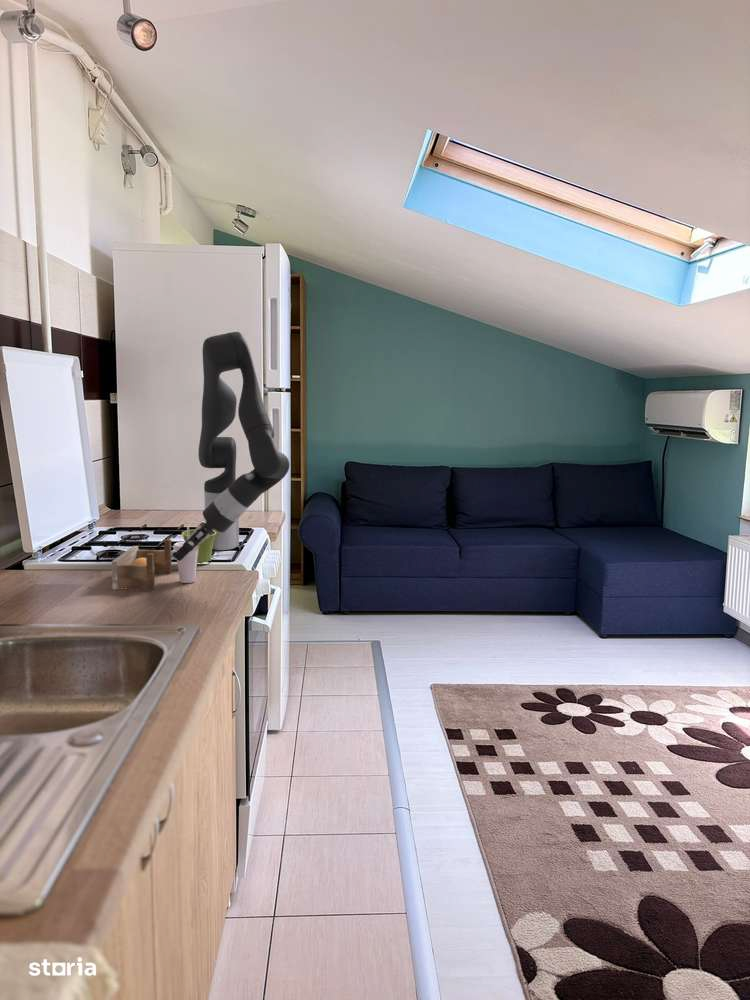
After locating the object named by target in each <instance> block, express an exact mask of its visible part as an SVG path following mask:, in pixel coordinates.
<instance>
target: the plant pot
mask: <svg viewBox="0 0 750 1000" xmlns="http://www.w3.org/2000/svg"><path fill="white" fill-rule="evenodd" d="M195 530H196V528H195V529H189V533H190V535H191V534H192V533H193V532H194V531H195ZM181 535H182V537H183V540H184V541H187V530H184V531H181ZM215 535H216V531H214V533H213V534H212V535H211V536H210V537H209V538H208V539H206V540H204V541H203V542H202V543H201V544H200V545H199V548H198V556H197V563H203V562H208V561H212V556H213V555H212V552H213V550H212V547H213V540H214V538H215Z"/></svg>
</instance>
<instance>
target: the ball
mask: <svg viewBox="0 0 750 1000" xmlns="http://www.w3.org/2000/svg"><path fill="white" fill-rule="evenodd" d="M131 565H147V562H146V558H138V559H136V560H134V561H133V562H132V564H131Z"/></svg>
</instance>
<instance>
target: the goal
mask: <svg viewBox="0 0 750 1000" xmlns="http://www.w3.org/2000/svg"><path fill="white" fill-rule="evenodd" d="M163 543H164V544H163V548H164V549H159V550H158V549H139V545H133V546H132V547H130V548H129V549H127V550H126V551H125V552H123V553H122V554H120V555H118V556H117V557H116V558H115V559H113V560H111V574H112V575H111V576H112V578H111V579H112V590H117V589H118V588H119V589H118V590H122V589H121V588H123V589H125V588H126V589H139V590H138V591H154V590H155V584H156V583H155V574H160V575H161V574H163V575H164V574H168V575H170V574H172V572H173V571H172V570H173V569H172V567H173V566H172V539H171V538H167V539H166V538H165V539H164V540H163ZM138 558H146V562H147V565H131V564H132V562H133V561H134V560H136V559H138Z"/></svg>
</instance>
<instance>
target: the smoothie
mask: <svg viewBox="0 0 750 1000" xmlns="http://www.w3.org/2000/svg"><path fill="white" fill-rule="evenodd" d="M189 530H190V526H187V527H186V531H187V540H188V539H189V536H190V533H189ZM184 542H186V541H185V540H184V541H178V542H176V543H173V549H174V551H175V553H176V552H177V551H178V550H179V549H180V548H181V547H182V546H183V544H184ZM188 543H189V544H190V545H191V546H192V547H193V546H194V543H193V542H192V541H189V542H188ZM198 548H199V546H195V547H194V548H193V550H192V551H190V552H189V553H188V554H187V555H186V556H185V557H184V558H183V559H182V560H180V561H178V560H177V559H176V563H177V568H178V569H177V571H178V576H179V581H180V582H179V583H182V584H190V583H194V582H195V581H196V577H197V576H196V574H197V573H196V572H197V566H198V565H197V556H198Z"/></svg>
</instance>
